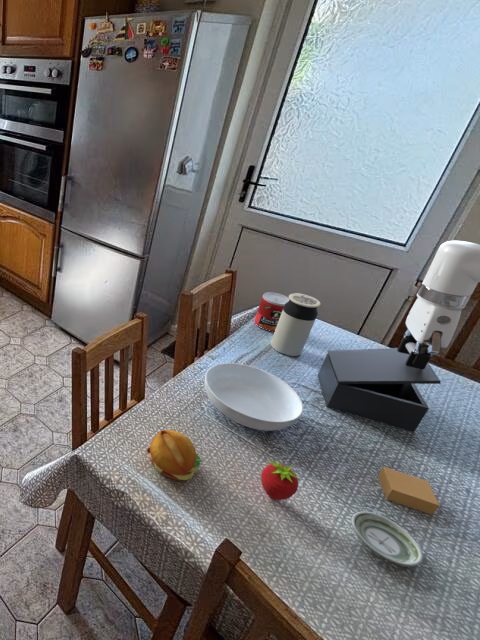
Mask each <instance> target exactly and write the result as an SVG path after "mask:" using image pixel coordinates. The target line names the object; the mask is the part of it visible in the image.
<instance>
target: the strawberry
mask: <svg viewBox="0 0 480 640" xmlns="http://www.w3.org/2000/svg"><path fill="white" fill-rule="evenodd" d="M268 461H269V464H268V465H266V466H265V467H264V468H263V469H262V471H261V475H260V477H261V478H260V481H261V486H262V488H263V490H264V492H265V493H266V496H268V497H269V498H270V500H273V501H284V500H288V499H290V498H292V497H293V496H294V495H295V494H296V493H297V492H298V489H299V477H298V476H297V474H296V473H295V472H294V471H293V470H292V469H291V468H292V467H293V466H292V465H286V464H285V462H284V461H283V460H282V461H281V462H282V463H279V461H278V460H276V461H275V462H274V461H272V460H271V459H268Z"/></svg>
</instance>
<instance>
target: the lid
mask: <svg viewBox="0 0 480 640" xmlns="http://www.w3.org/2000/svg"><path fill="white" fill-rule="evenodd" d="M405 346H406V348H407V350H408V351H409V353H411V351H414V350H415V346H416V344H415V343H413V342H409V343H407V344H406V345H405ZM397 349H398V347H391V348H390V347H389V348H364V349H362V348H361V349H340V350H339V349H338V350H327V353H328V354H329V357H330V360H331V363H332V366H333V369H334V372H335V374H336V377H337V380H338V383H339V384H415V385H433V384H434V385H440V384H441V380H440V378H439V376H438V375H437V373H436V372H435V370H434V369H433V368H432V366H431V365H430V363H429V362H428V363H427V365H426V367H425V369H418V368H414V367H409V366H406V364H405V363H406V361H407V359H408V357H409V355H410V354H405V353H400V352H398V350H397Z"/></svg>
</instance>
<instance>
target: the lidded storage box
mask: <svg viewBox="0 0 480 640" xmlns="http://www.w3.org/2000/svg"><path fill="white" fill-rule="evenodd" d="M317 379H318V383H319V386H320V389H321V393H322V396H323V399H324V403H325V406H326V408H328V409H331V410H335V411H339V412H342V413H345V414H348V415H352V416H355V417H358V418H363V419H366V420H370V421H372V422H376V423H381V424H384V425H386V426H390V427H393V428H397V429H400V430H404V431H408V432H410V433H415V432H416V430H417V428H418V427H419V425H420V423H421V422H422V421H423V419H424V417H425V416H426V414H427V413H428V411H429V410H430V407H429V406H428V404H427V402H426V400H425V399H424V397H423V396H422V394H421V392H420V390H419V389H418V387H417V384H339V383H338V380H337V377H336V374H335V372H334V369H333V366H332V363H331V360H330V357H329V354H328V352H327V353H326V355H325V357H324V360H323V363H322V364H321V366H320V368H319V371H318V373H317Z"/></svg>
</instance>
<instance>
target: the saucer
mask: <svg viewBox="0 0 480 640" xmlns="http://www.w3.org/2000/svg"><path fill="white" fill-rule="evenodd" d="M350 523H351V527H352V529H353V531H354V533H355V535H356V536H357V537H358V538H359V540H360V541H361V542H362V543H363V544H364V545H365V546H366V547H367V548H369V550H371V551H372V552H373V553H374V554H376V555H377V556H379V557H381V558H383V559H385V560H386V561H389V562H392V563H393V564H396V565H399V566H403V567H417V566H419V565H420V564H421V563H422V562H423V560H424V553H423V551H422V548H421V547H420V545H419V544H418V542H417V541H416V540H415V538H414V537H413V536H412V535H411V534H410V533H409V532H408V531H407V530H405V529H404V528H403V527H402V526H400V525H399V524H397V523H396V522H394V521H393V520H391V519H389V518H387V517H386V516H383V515H380V514H379V513H375V512H371V511H363V510H362V511H357V512H355V513H353V515H352V516H351V521H350Z"/></svg>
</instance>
